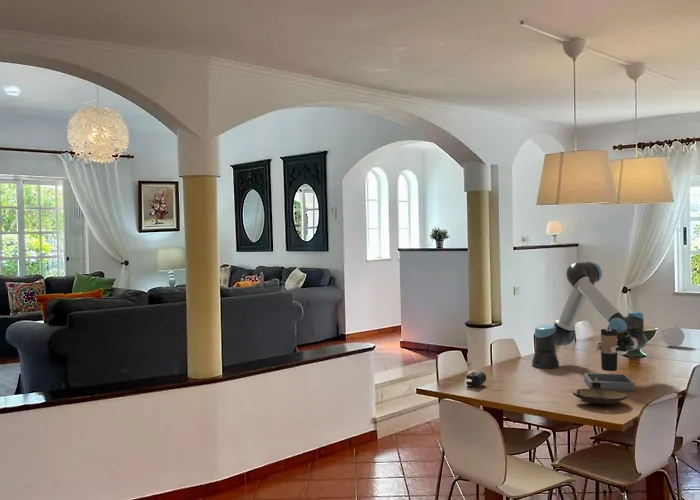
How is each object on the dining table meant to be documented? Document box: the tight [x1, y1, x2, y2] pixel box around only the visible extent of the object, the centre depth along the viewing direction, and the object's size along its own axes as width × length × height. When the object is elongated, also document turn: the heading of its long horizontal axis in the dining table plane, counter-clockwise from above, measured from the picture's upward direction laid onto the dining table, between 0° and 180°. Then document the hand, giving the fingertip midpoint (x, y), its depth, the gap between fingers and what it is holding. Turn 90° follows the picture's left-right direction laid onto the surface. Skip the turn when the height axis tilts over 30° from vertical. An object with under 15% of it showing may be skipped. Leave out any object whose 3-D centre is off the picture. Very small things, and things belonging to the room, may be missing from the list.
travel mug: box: [600, 328, 618, 372], centre depth 321 cm, size 8×8×20 cm
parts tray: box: [583, 372, 635, 392], centre depth 321 cm, size 20×20×4 cm
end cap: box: [465, 371, 487, 389], centre depth 325 cm, size 10×7×7 cm
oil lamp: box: [572, 378, 627, 406], centre depth 291 cm, size 22×30×8 cm
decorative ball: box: [659, 323, 685, 347], centre depth 429 cm, size 15×13×15 cm
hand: (603, 349), depth 317 cm, fingers closed on travel mug, 7 cm apart
